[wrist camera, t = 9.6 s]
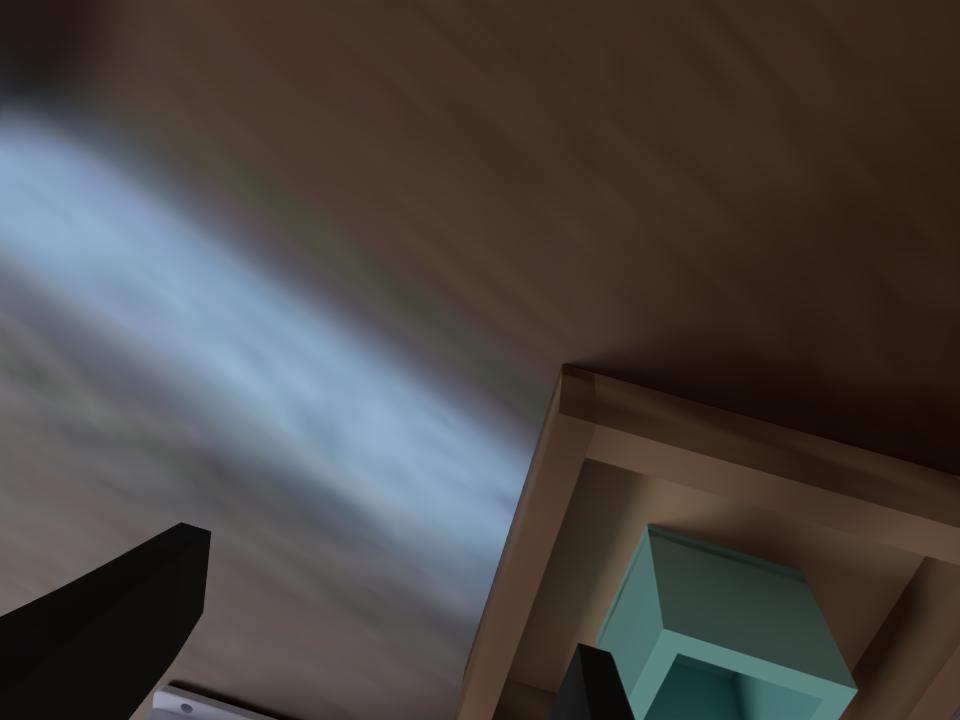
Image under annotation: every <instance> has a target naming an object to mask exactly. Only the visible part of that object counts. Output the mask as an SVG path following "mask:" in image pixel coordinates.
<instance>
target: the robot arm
mask: <svg viewBox="0 0 960 720" xmlns="http://www.w3.org/2000/svg"><path fill="white" fill-rule="evenodd" d="M210 539H211V531H208V530H205V529H202V528H198V527H195V526H192V525H189V524H185V523H182V522H181V523H179V524H177V525H175V526H173V527H171V528H170V529H168V530H166V531H164V532H162V533H160V534H159V535H157V536H155V537H153V538H151V539H150V540H148V541H146V542H144V543H142V544H141V545H139V546H137V547H135V548H133V549H132V550H130V551H128V552H126V553H124V554H123V555H121V556H119V557H117V558H115V559H114V560H112V561H110V562H108V563H106V564H104V565H103V566H101V567H99V568H97V569H95V570H93V571H91V572H89V573H88V574H86V575H84V576H82V577H80V578H78V579H76V580H74V581H73V582H71V583H69V584H67V585H65V586H63V587H61V588H59V589H57V590H55V591H53V592H51V593H49V594H47V595H45V596H43V597H41V598H39V599H36V600H34V601H32V602H30V603H28V604H26V605H24V606H22V607H20V608H18V609H16V610H14V611H12V612H10V613H7V614H5V615H3V616H1V617H0V720H129V718H130V717H131V716H132V715H133V713H134V712H135V711H136V709H137V708H138V707H139V706H140V704H141V703H142V702H143V700H144V699H145V698H146V697H147V695H148V694H149V693H150V691H151V690H152V689H153V687H154V686H155V685H156V684H157V682H158V681H159V680H160V678H161V677H162V676H163V674H164V673H165V672H166V670H167V669H168V668H169V666H170V665H171V664H172V663H173V661H174V659H175V658H176V656H177V655H178V653H179V651H180V650H181V648H182V647H183V645H184V643H185V642H186V640H187V639H188V637H189V635H190V634H191V632H192V630H193V628H194V627H195V625H196V623H197V622H198V620H199V618H200V617H201V615H202V613H203V608H204V598H205V588H206V579H207V569H208V559H209V549H210ZM144 720H277V719H274V718H271V717H268V716H265V715H262V714H258V713H255V712H252V711H249V710H246V709H242V708H239V707H236V706H233V705H230V704H227V703H223V702H220V701H217V700H214V699H211V698H208V697H204V696H201V695H198V694H195V693H192V692H189V691H185V690H182V689H179V688H176V687H173V686H169V685H163V686H161V687H159V688H158V690H157V691H156V692H155V694H154V697H153V708H152V709H151V710H150V712H149V713H148V714H147V716H146V717H145V719H144ZM547 720H635V717H634V714H633V712H632V709H631V706H630V704H629V701H628V698H627V696H626V693H625V690H624V687H623V684H622V681H621V678H620V675H619V673H618V670H617V667H616V664H615V660H614V658H613V656H612V654H611V653H610V652H608V651H604V650H601V649H598V648H595V647H591V646H588V645H585V644H581V643H578V644H577V647H576V649H575V652H574V654H573V657H572V659H571V662H570V664H569V667H568V669H567V672H566V674H565V677H564V679H563V682H562V684H561V687H560V689H559V692H558V694H557V696H556V699H555V701H554V704H553V706H552V709H551V711H550V714H549V716H548V719H547Z"/></svg>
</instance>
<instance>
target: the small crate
mask: <svg viewBox="0 0 960 720" xmlns="http://www.w3.org/2000/svg"><path fill="white" fill-rule="evenodd" d="M596 648H598V649H601V650H604V651H608V652H610V653H611V654H612V656H613V658H614V660H615V664H616V667H617V670H618V673H619V675H620V678H621V681H622V684H623V687H624V690H625V693H626V696H627V698H628V701H629V704H630V706H631V709H632V712H633V714H634V717H635V720H838V719H839V717H840V716H841V715H842V713H843V712H844V710H845V709H846V707H847V706H848V704H849V703H850V701H851V700H852V698H853V697H854V696H855V694H856V693H857V691H858V689H857V687H856V684H855V682H854V680H853V678H852V676H851V674H850V672H849V670H848V668H847V666H846V663H845V661H844V659H843V657H842V655H841V653H840V651H839V649H838V647H837V644H836V642H835V640H834V638H833V636H832V634H831V632H830V630H829V628H828V626H827V623H826V621H825V619H824V617H823V615H822V613H821V611H820V609H819V607H818V604H817V602H816V600H815V598H814V596H813V594H812V592H811V590H810V588H809V586H808V583H807V581H806V579H805V577H804V575H803V573H802V571H799V570H795V569H792V568H789V567H786V566H783V565H779V564H776V563H773V562H770V561H766V560H763V559H760V558H757V557H754V556H750V555H747V554H744V553H741V552H737V551H734V550H731V549H728V548H725V547H721V546H718V545H715V544H712V543H708V542H705V541H702V540H699V539H696V538H692V537H689V536H686V535H683V534H679V533H676V532H673V531H670V530H666V529H663V528H660V527H657V526H654V525H650V524H646V527H645V529H644V531H643V533H642V536H641V538H640V540H639V542H638V545H637V547H636V549H635V551H634V554H633V556H632V558H631V560H630V563H629V565H628V567H627V569H626V572H625V574H624V576H623V578H622V581H621V583H620V585H619V588H618V590H617V592H616V594H615V597H614V599H613V601H612V603H611V606H610V608H609V610H608V612H607V615H606V617H605V619H604V621H603V624H602V626H601V628H600V630H599V633H598V635H597V637H596Z"/></svg>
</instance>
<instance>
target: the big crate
mask: <svg viewBox="0 0 960 720" xmlns="http://www.w3.org/2000/svg"><path fill="white" fill-rule="evenodd" d="M646 524H650V525H654V526H657V527H660V528H663V529H666V530H670V531H673V532H676V533H679V534H683V535H686V536H689V537H692V538H696V539H699V540H702V541H705V542H708V543H712V544H715V545H718V546H721V547H725V548H728V549H731V550H734V551H737V552H741V553H744V554H747V555H750V556H754V557H757V558H760V559H763V560H766V561H770V562H773V563H776V564H779V565H783V566H786V567H789V568H792V569H795V570H799V571H802V573H803V575H804V577H805V579H806V581H807V583H808V586H809V588H810V590H811V592H812V594H813V596H814V598H815V600H816V602H817V604H818V607H819V609H820V611H821V613H822V615H823V617H824V619H825V621H826V623H827V626H828V628H829V630H830V632H831V634H832V636H833V638H834V640H835V642H836V644H837V647H838V649H839V651H840V653H841V655H842V657H843V659H844V661H845V663H846V666H847V668H848V670H849V672H850V674H851V676H852V678H853V680H854V682H855V684H856V687H857V689H858V691H857V693H856V694H855V696H854V697H853V698H852V700H851V701H850V703H849V704H848V706H847V707H846V709H845V710H844V712H843V713H842V715H841V716H840V717H839V719H838V720H949V719H950V718H951V716H952V715H953V714H954V712H955V711H956V710H957V708H958V707H959V706H960V476H956V475H953V474H949V473H946V472H942V471H939V470H935V469H932V468H928V467H925V466H921V465H918V464H914V463H911V462H907V461H904V460H900V459H896V458H893V457H889V456H886V455H882V454H879V453H875V452H872V451H868V450H865V449H861V448H858V447H854V446H851V445H847V444H844V443H840V442H837V441H833V440H829V439H826V438H822V437H819V436H815V435H812V434H808V433H805V432H801V431H798V430H794V429H791V428H787V427H784V426H780V425H777V424H773V423H769V422H766V421H762V420H759V419H755V418H752V417H748V416H745V415H741V414H738V413H734V412H731V411H727V410H724V409H720V408H717V407H713V406H710V405H706V404H702V403H699V402H695V401H692V400H688V399H685V398H681V397H678V396H674V395H671V394H667V393H664V392H660V391H657V390H653V389H650V388H646V387H642V386H639V385H635V384H632V383H628V382H625V381H621V380H618V379H614V378H611V377H607V376H604V375H600V374H597V373H593V372H590V371H586V370H583V369H579V368H575V367H572V366H568V365H565V364H562V367H561V371H560V374H559V377H558V380H557V383H556V386H555V389H554V392H553V396H552V399H551V402H550V405H549V408H548V411H547V414H546V417H545V421H544V424H543V427H542V430H541V433H540V436H539V439H538V443H537V446H536V449H535V452H534V455H533V458H532V461H531V464H530V468H529V471H528V474H527V477H526V480H525V483H524V486H523V489H522V493H521V496H520V499H519V502H518V505H517V508H516V511H515V514H514V518H513V521H512V524H511V527H510V530H509V533H508V536H507V539H506V543H505V546H504V549H503V552H502V555H501V558H500V561H499V565H498V568H497V571H496V574H495V577H494V580H493V583H492V586H491V590H490V593H489V596H488V599H487V602H486V605H485V608H484V611H483V615H482V618H481V621H480V624H479V627H478V630H477V633H476V636H475V640H474V643H473V646H472V649H471V652H470V655H469V658H468V661H467V665H466V668H465V672H464V677H463V682H462V687H461V691H460V696H459V701H458V706H457V711H456V715H455V720H547V719H548V716H549V714H550V711H551V709H552V706H553V704H554V701H555V699H556V696H557V694H558V692H559V689H560V687H561V684H562V682H563V679H564V677H565V674H566V672H567V669H568V667H569V664H570V662H571V659H572V657H573V654H574V652H575V649H576V647H577V644H578V643H581V644H585V645H588V646H591V647H595V648H596V637H597V635H598V633H599V630H600V628H601V626H602V624H603V621H604V619H605V617H606V615H607V612H608V610H609V608H610V606H611V603H612V601H613V599H614V597H615V594H616V592H617V590H618V588H619V585H620V583H621V581H622V578H623V576H624V574H625V572H626V569H627V567H628V565H629V563H630V560H631V558H632V556H633V554H634V551H635V549H636V547H637V545H638V542H639V540H640V538H641V536H642V533H643V531H644V529H645V527H646Z"/></svg>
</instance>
